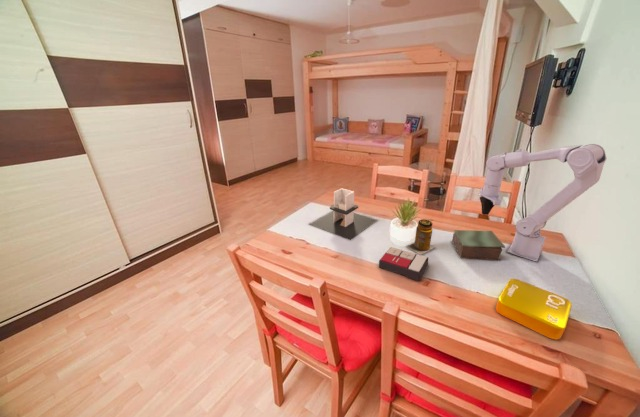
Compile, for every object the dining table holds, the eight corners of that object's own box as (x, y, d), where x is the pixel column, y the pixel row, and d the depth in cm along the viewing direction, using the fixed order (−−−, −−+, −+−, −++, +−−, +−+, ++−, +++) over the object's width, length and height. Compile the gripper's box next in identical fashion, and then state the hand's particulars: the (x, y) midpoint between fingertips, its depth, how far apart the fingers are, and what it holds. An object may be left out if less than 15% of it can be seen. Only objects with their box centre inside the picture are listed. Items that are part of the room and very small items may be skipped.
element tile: (507, 286, 87) (511, 275, 85) (567, 311, 76) (573, 298, 74) (493, 311, 77) (497, 299, 75) (559, 343, 67) (565, 330, 65)
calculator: (390, 245, 105) (429, 255, 96) (389, 254, 107) (428, 265, 98) (378, 259, 97) (420, 271, 88) (378, 268, 98) (419, 281, 90)
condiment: (433, 248, 108) (438, 222, 104) (420, 255, 104) (424, 229, 99) (419, 240, 114) (422, 216, 109) (406, 247, 110) (409, 221, 105)
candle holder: (309, 224, 132) (307, 194, 125) (338, 208, 148) (337, 180, 142) (350, 240, 117) (350, 206, 110) (377, 220, 133) (379, 190, 127)
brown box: (486, 244, 110) (489, 233, 108) (498, 260, 100) (502, 248, 97) (451, 242, 112) (453, 231, 110) (460, 258, 102) (462, 246, 100)
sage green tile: (491, 232, 107) (491, 230, 107) (504, 247, 97) (505, 246, 97) (453, 231, 110) (454, 230, 110) (462, 246, 100) (463, 245, 99)
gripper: (475, 178, 114) (469, 206, 120) (489, 190, 101) (481, 221, 107) (493, 178, 113) (485, 207, 118) (509, 190, 100) (500, 222, 105)
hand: (485, 214), depth 112 cm, fingers closed
